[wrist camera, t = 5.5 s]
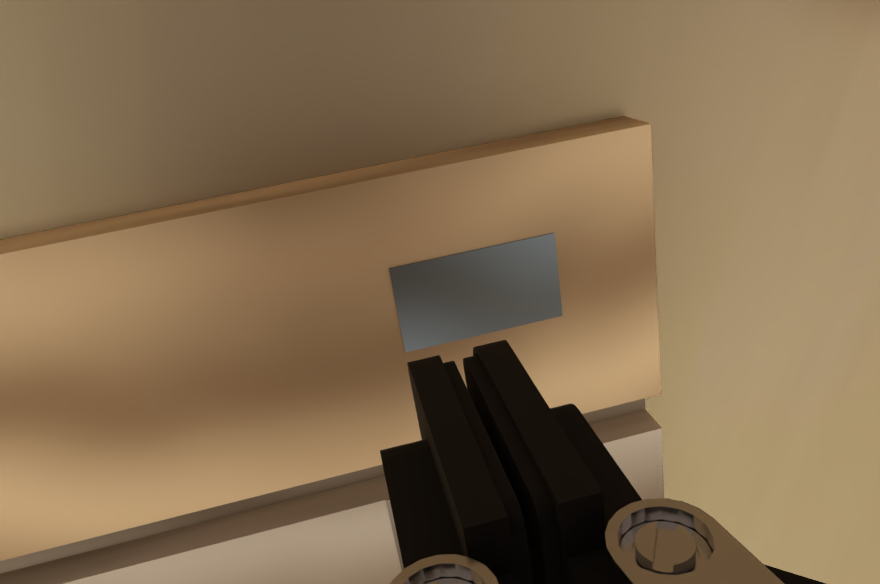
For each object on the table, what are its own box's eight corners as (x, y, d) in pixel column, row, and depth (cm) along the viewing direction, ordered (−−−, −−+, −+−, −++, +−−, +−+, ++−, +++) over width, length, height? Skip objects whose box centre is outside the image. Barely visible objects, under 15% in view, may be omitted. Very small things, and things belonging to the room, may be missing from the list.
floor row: (-171, 584, 20) (-208, 631, 18) (636, 382, 23) (661, 409, 21) (-63, 745, 22) (-88, 798, 21) (644, 546, 25) (666, 580, 24)
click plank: (-351, 308, 16) (-416, 337, 15) (623, 116, 19) (651, 124, 18) (-180, 570, 19) (-219, 617, 18) (636, 369, 22) (661, 394, 21)
